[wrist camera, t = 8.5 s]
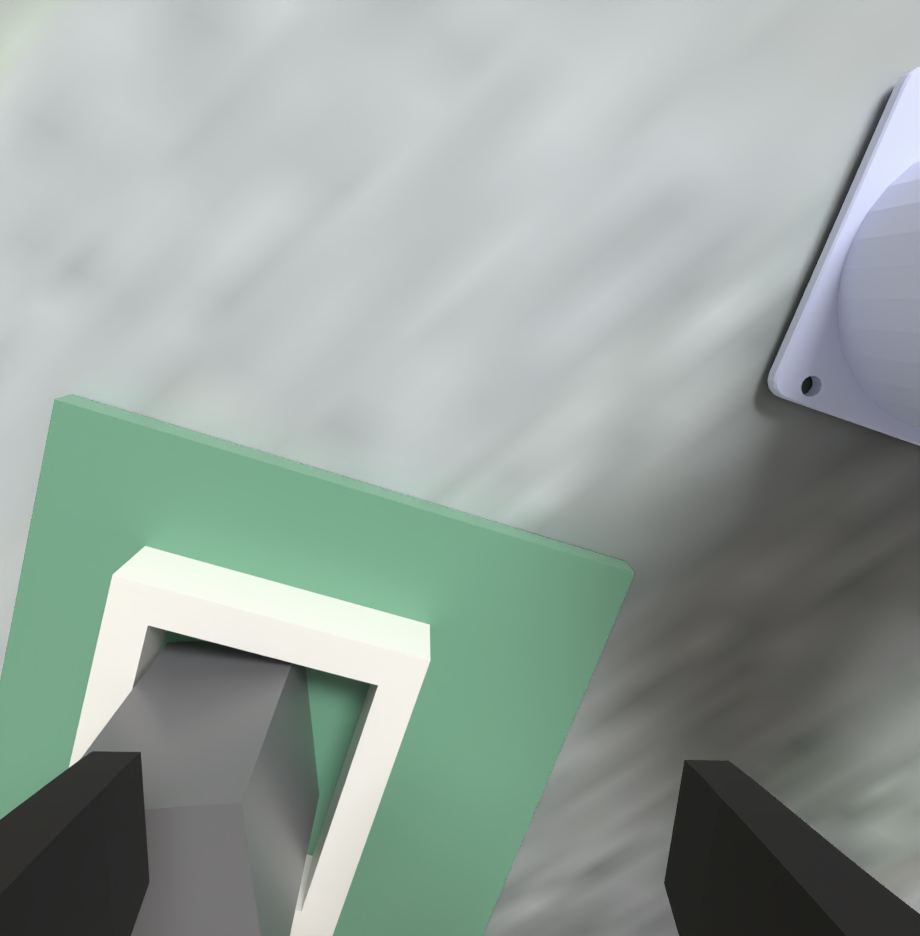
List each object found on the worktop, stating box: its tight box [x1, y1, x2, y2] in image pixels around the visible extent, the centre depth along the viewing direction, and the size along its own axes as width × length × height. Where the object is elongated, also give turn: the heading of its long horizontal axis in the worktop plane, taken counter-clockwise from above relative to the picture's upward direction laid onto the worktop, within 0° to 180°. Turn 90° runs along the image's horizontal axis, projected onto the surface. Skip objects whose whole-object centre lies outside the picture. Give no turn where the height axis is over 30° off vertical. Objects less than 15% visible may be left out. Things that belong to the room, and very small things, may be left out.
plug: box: [81, 640, 319, 936], centre depth 15 cm, size 4×6×6 cm, turn 2°
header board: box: [0, 395, 635, 936], centre depth 18 cm, size 15×15×3 cm
